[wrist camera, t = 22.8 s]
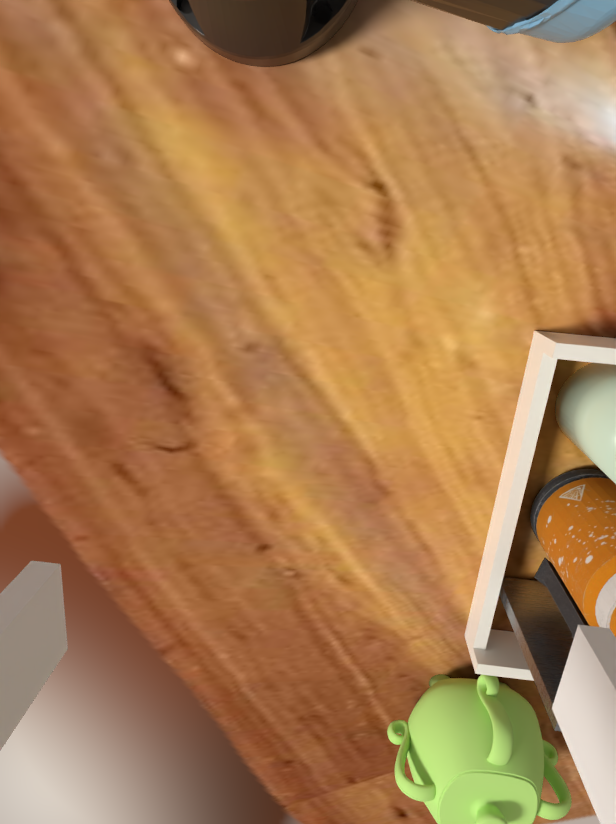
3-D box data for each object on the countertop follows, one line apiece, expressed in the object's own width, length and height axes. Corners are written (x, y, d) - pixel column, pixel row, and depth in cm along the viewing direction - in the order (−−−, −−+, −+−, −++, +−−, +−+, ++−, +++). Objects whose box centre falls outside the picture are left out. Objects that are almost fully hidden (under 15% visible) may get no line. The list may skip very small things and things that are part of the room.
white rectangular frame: (534, 330, 45) (556, 342, 40) (710, 347, 44) (753, 362, 39) (464, 635, 55) (475, 673, 51) (605, 652, 55) (629, 692, 50)
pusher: (498, 576, 52) (558, 717, 37) (609, 589, 52) (716, 737, 37) (491, 603, 54) (547, 751, 38) (601, 615, 53) (700, 770, 38)
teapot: (559, 737, 59) (613, 866, 47) (444, 781, 63) (468, 911, 51) (491, 635, 55) (532, 748, 43) (373, 687, 59) (380, 805, 47)
